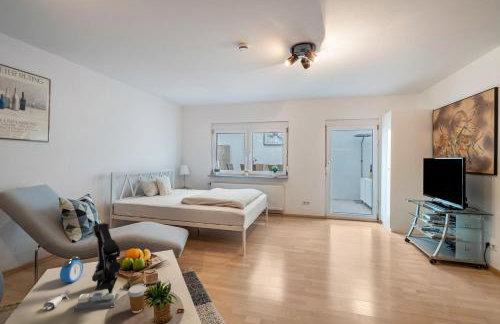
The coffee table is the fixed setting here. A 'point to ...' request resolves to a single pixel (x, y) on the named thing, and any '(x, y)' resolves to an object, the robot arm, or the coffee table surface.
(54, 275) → the coffee table surface
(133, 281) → the pastry
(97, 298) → the key blue
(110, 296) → the key sage
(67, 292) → the woman figurine
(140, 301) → the disposable coffee cup
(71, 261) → the alarm clock
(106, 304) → the keypad
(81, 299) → the key ivory
